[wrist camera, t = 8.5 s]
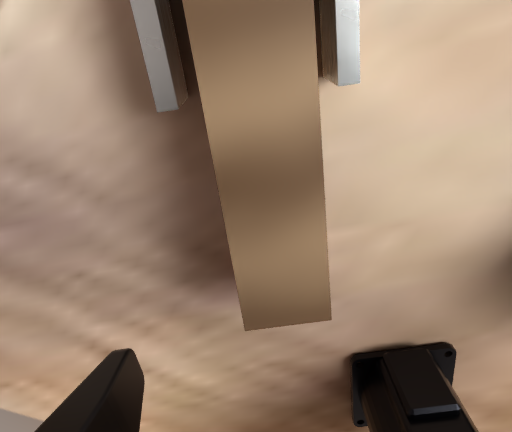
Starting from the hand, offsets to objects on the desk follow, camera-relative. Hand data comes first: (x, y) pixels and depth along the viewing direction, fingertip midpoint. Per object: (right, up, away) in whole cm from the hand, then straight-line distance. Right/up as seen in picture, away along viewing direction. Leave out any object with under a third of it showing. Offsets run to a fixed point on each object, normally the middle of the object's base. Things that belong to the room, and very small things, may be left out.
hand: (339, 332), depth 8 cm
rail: (-1, +6, +10) cm, 12 cm away
